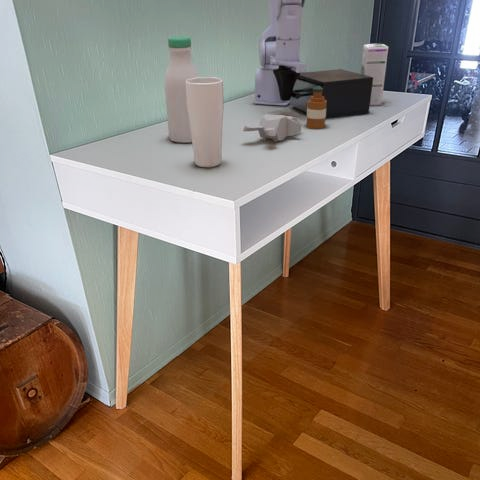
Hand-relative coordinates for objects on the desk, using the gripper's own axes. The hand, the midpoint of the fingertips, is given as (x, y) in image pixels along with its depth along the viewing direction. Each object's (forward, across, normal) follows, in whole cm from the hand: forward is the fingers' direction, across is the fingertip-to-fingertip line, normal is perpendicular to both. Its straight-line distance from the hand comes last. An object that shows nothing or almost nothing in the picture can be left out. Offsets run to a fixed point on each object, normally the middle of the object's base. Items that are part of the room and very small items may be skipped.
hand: (285, 100), depth 127 cm
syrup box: (+4, -2, +28) cm, 28 cm away
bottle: (+4, +13, +2) cm, 13 cm away
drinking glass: (+4, +28, -32) cm, 43 cm away
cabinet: (+4, 0, +14) cm, 14 cm away
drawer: (+3, 0, +10) cm, 10 cm away
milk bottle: (+4, +9, -30) cm, 31 cm away
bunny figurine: (+4, +18, -12) cm, 22 cm away
